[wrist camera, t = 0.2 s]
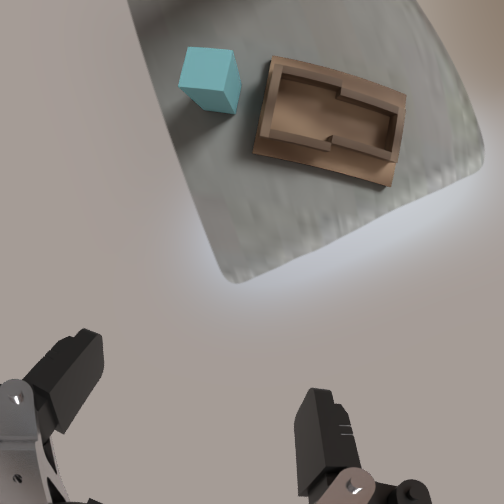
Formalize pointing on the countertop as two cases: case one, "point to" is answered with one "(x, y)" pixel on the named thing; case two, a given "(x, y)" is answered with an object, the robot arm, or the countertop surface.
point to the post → (211, 79)
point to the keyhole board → (330, 121)
